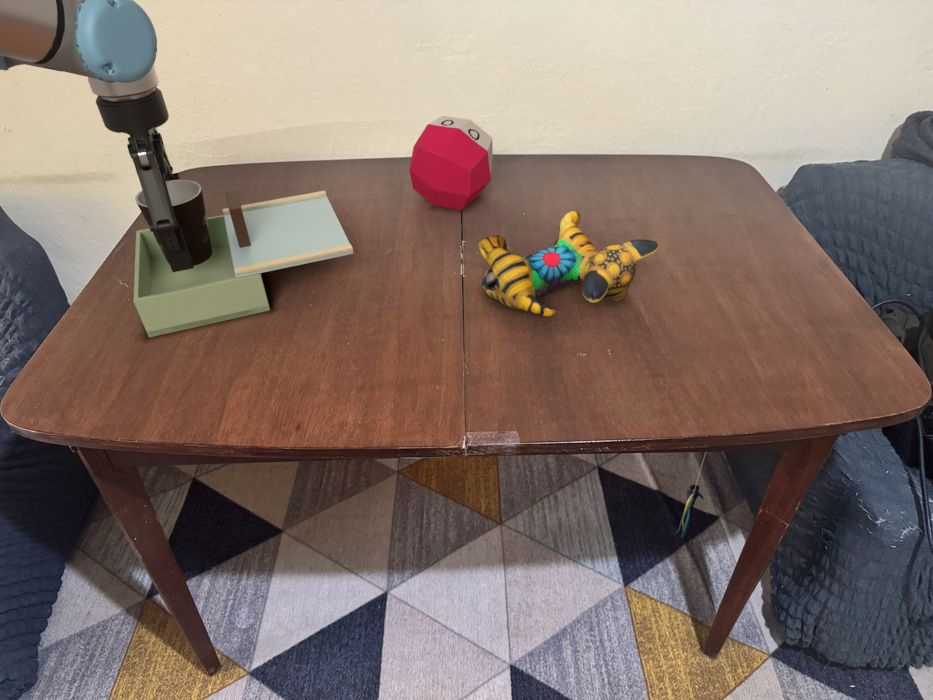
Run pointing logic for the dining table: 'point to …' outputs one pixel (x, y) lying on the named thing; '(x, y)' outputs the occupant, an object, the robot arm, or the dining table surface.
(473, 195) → the decorative object
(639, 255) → the dog figurine
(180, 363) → the dining table surface
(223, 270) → the green open storage box
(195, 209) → the coffee mug
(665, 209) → the dining table surface
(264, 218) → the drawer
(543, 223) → the dining table surface
